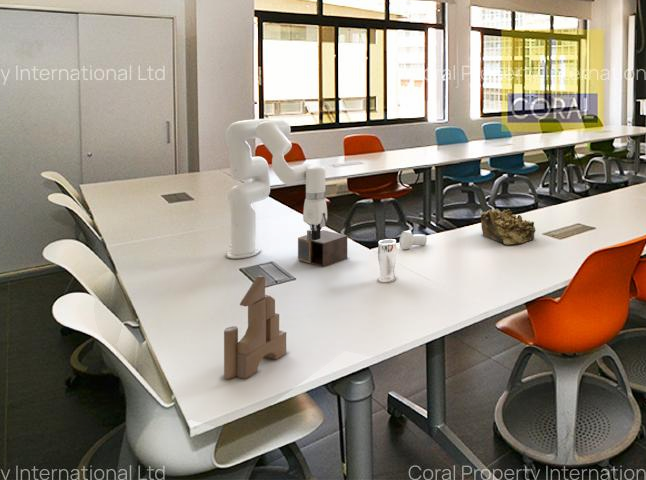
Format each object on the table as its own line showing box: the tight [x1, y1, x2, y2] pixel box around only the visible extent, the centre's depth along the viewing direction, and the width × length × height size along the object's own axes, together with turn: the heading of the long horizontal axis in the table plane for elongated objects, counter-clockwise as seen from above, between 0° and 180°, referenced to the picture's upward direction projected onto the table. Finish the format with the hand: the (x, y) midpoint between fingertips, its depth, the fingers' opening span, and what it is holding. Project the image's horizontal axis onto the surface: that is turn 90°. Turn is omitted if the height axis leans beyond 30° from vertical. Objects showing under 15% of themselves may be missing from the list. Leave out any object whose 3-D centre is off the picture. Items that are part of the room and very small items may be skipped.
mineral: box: [480, 208, 536, 246], centre depth 264 cm, size 27×25×15 cm
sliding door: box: [297, 229, 312, 264], centre depth 227 cm, size 1×8×14 cm, turn 60°
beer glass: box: [377, 238, 397, 283], centre depth 209 cm, size 7×7×15 cm
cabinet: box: [299, 229, 348, 268], centre depth 231 cm, size 12×16×10 cm
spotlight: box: [399, 230, 428, 250], centre depth 247 cm, size 8×11×8 cm
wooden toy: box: [223, 275, 287, 380], centre depth 148 cm, size 16×7×25 cm, turn 162°
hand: (315, 239), depth 223 cm, fingers closed
